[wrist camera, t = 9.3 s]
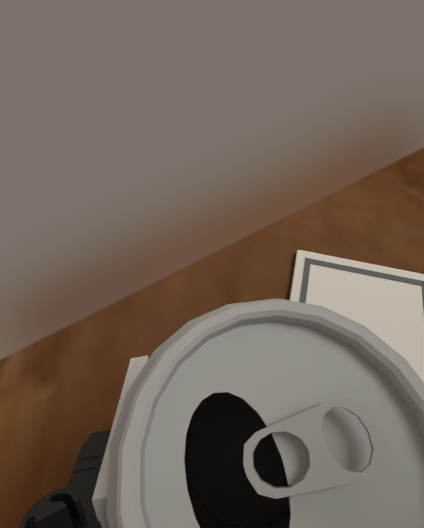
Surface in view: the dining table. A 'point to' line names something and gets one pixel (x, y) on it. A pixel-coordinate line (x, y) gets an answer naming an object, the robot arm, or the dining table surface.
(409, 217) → the dining table surface
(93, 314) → the dining table surface
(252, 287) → the dining table surface
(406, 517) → the can
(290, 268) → the dining table surface
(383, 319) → the marked board
